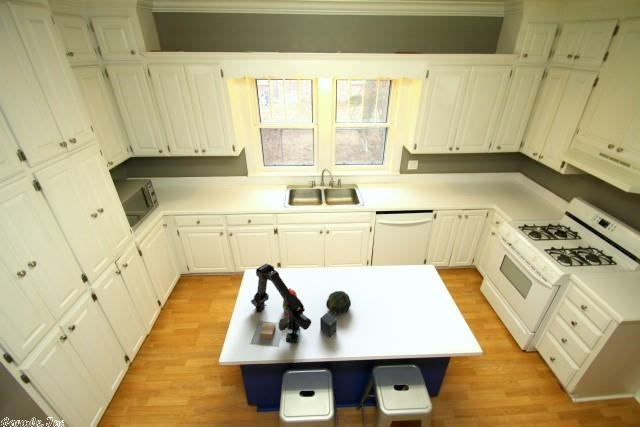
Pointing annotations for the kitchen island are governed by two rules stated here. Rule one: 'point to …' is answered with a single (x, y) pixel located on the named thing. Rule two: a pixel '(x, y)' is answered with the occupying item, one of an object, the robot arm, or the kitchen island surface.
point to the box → (328, 325)
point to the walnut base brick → (267, 331)
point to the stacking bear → (284, 305)
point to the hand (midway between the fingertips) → (295, 337)
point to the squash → (338, 302)
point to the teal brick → (297, 333)
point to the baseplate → (265, 341)
